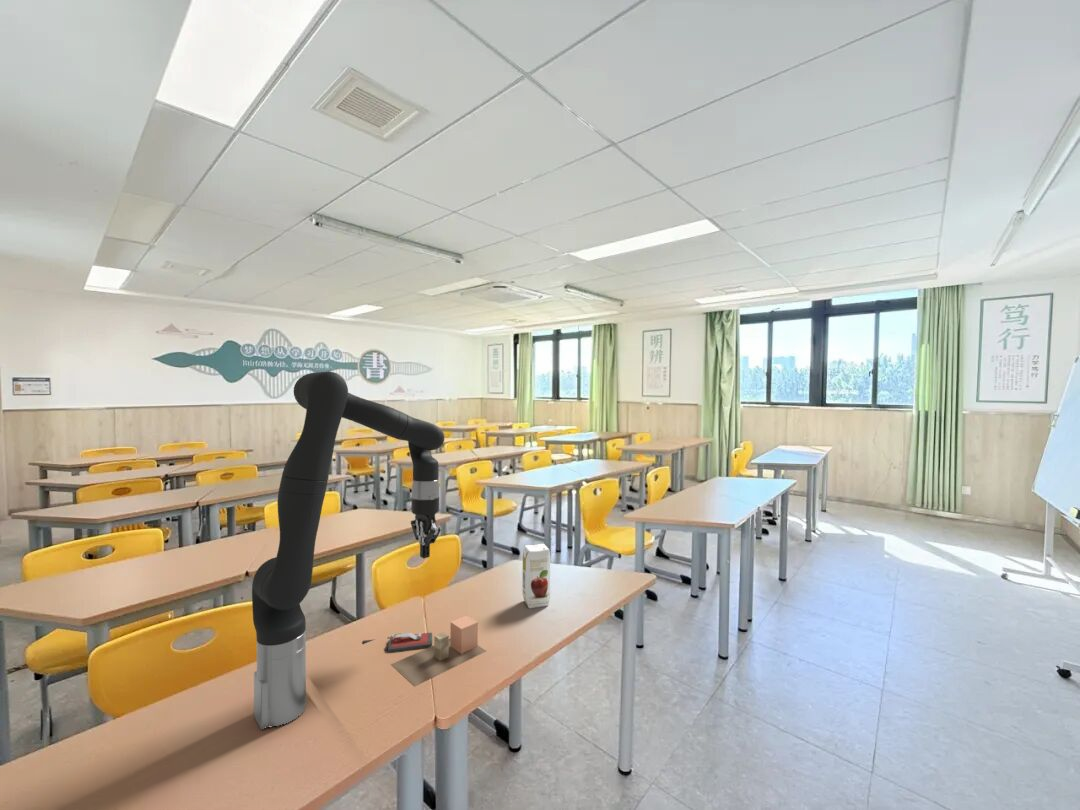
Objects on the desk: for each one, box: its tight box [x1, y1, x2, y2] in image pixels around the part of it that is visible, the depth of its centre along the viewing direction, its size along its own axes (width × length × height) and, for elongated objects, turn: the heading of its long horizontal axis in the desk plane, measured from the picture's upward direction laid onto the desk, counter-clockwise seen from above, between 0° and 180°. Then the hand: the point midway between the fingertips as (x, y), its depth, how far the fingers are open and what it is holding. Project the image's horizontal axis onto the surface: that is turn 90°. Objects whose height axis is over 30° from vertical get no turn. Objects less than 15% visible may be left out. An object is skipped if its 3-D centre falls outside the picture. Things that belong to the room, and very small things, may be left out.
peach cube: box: [449, 615, 479, 654], centre depth 121 cm, size 5×5×7 cm
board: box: [390, 631, 487, 687], centre depth 116 cm, size 21×12×7 cm, turn 134°
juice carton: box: [521, 543, 551, 609], centre depth 150 cm, size 8×9×19 cm
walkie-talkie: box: [361, 632, 433, 653], centre depth 122 cm, size 9×4×20 cm
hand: (424, 557), depth 125 cm, fingers closed
